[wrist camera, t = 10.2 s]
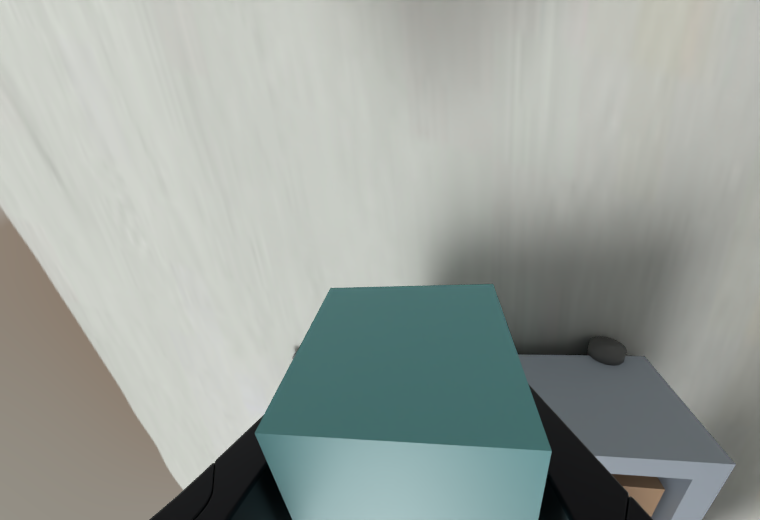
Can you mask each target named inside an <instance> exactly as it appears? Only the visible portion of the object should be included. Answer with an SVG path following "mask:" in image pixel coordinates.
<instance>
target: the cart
mask: <svg viewBox="0 0 760 520" xmlns="http://www.w3.org/2000/svg"><path fill="white" fill-rule="evenodd" d="M518 356H519V359H520V362H521V365H522V368H523V371H524V373H525V376H526V379H527V382H528V384H529V385H530V386H531V387H532V388H533V389H534V390H535V391H536V392H537V394H538V395H539V396H540V397H541V398H542V399H543V400H544V401H545V402H546V403H547V404H548V406H549V407H550V408H551V409H552V410H553V411H554V412H555V413H556V414H557V415H558V416H559V418H560V419H561V420H562V421H563V422H564V423H565V424H566V425H567V426H568V427H569V428H570V430H571V431H572V432H573V433H574V434H575V435H576V436H577V437H578V438H579V439H580V440H581V442H582V443H583V444H584V445H585V446H586V447H587V448H588V449H589V450H590V451H591V452H592V454H593V455H594V456H595V457H596V458H597V459H598V460H599V461H600V462H601V463H602V464H603V466H604V467H605V468H606V469H607V470H608V471H609V472H610V473H611V474H622V475H636V476H650V477H658V479H659V480H660V482H661V484H662V485H663V487H664V489H665V491H664V493H663V495H662V497H661V499H660V501H659V503H658V505H657V507H656V509H655V511H654V513H653V515H652V516H651V518H652V519H653V520H702V519H703V517H704V516H705V514H706V512H707V511H708V509H709V507H710V506H711V504H712V503H713V501H714V499H715V498H716V496H717V495H718V493H719V491H720V490H721V488H722V486H723V485H724V483H725V482H726V480H727V478H728V477H729V475H730V473H731V472H732V470H733V469H734V467H735V465H736V464H735V463H734V462H733V460H732V459H731V458H730V457H729V456H728V455H727V453H726V452H725V451H724V450H723V449H722V447H721V446H720V445H719V444H718V443H717V442H716V440H715V439H714V438H713V437H712V436H711V434H710V433H709V432H708V431H707V430H706V429H705V427H704V426H703V425H702V424H701V423H700V421H699V420H698V419H697V418H696V417H695V416H694V414H693V413H692V412H691V411H690V410H689V408H688V407H687V406H686V405H685V404H684V403H683V401H682V400H681V399H680V398H679V397H678V395H677V394H676V393H675V392H674V391H673V390H672V388H671V387H670V386H669V385H668V384H667V382H666V381H665V380H664V379H663V378H662V377H661V375H660V374H659V373H658V372H657V371H656V369H655V368H654V367H653V366H652V365H651V364H650V362H649V361H648V360H647V359H646V358H645V356H626V348H625V347H624V346H623V345H622V344H621V343H620V342H618V341H616V340H614V339H611V338H608V337H594V338H592V339H591V340H590V341H589V346H588V350H587V355H518Z"/></svg>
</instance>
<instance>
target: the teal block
mask: <svg viewBox="0 0 760 520" xmlns="http://www.w3.org/2000/svg"><path fill="white" fill-rule="evenodd" d="M255 436H256V438H257V440H258V442H259V445H260V447H261V449H262V452H263V454H264V456H265V458H266V461H267V463H268V465H269V468H270V470H271V472H272V474H273V477H274V479H275V481H276V484H277V486H278V488H279V491H280V493H281V495H282V497H283V500H284V502H285V504H286V507H287V509H288V511H289V513H290V516H291V518H292V520H538V518H539V513H540V508H541V503H542V498H543V493H544V488H545V483H546V478H547V473H548V468H549V463H550V458H551V453H552V450H551V447H550V444H549V442H548V439H547V436H546V433H545V430H544V427H543V425H542V422H541V419H540V416H539V413H538V410H537V407H536V405H535V402H534V399H533V396H532V393H531V390H530V388H529V385H528V382H527V379H526V376H525V373H524V371H523V368H522V365H521V362H520V359H519V356H518V353H517V351H516V348H515V345H514V342H513V339H512V336H511V334H510V331H509V328H508V325H507V322H506V319H505V317H504V314H503V311H502V308H501V305H500V302H499V300H498V297H497V294H496V291H495V288H494V285H493V284H472V285H433V286H394V287H355V288H330V290H329V292H328V294H327V296H326V298H325V300H324V302H323V303H322V305H321V307H320V309H319V311H318V313H317V315H316V317H315V319H314V321H313V322H312V324H311V326H310V328H309V330H308V332H307V334H306V336H305V338H304V340H303V342H302V343H301V345H300V347H299V349H298V351H297V353H296V355H295V357H294V359H293V361H292V363H291V364H290V366H289V368H288V370H287V372H286V374H285V376H284V378H283V380H282V382H281V384H280V385H279V387H278V389H277V391H276V393H275V395H274V397H273V399H272V401H271V403H270V405H269V406H268V408H267V410H266V412H265V414H264V416H263V418H262V420H261V422H260V424H259V426H258V427H257V429H256V431H255Z"/></svg>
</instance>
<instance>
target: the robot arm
mask: <svg viewBox="0 0 760 520" xmlns="http://www.w3.org/2000/svg"><path fill="white" fill-rule="evenodd" d="M528 385H529V384H528ZM529 388H530V390H531V393H532V396H533V399H534V402H535V405H536V407H537V410H538V413H539V416H540V419H541V422H542V425H543V427H544V430H545V433H546V436H547V439H548V442H549V444H550V447H551V450H552V453H551V458H550V463H549V468H548V473H547V478H546V483H545V488H544V493H543V498H542V503H541V508H540V513H539V518H538V520H653V519H652V518H651V517H650V516H649V514H648V513H647V512H646V511H645V510H644V509H643V508H642V507H641V506H640V505H639V504H638V502H637V501H636V500H635V499H634V498H633V497H631V496H630V497H629V493H628V492H627V491H626V490H625V488H624V487H623V486H622V485H621V484H620V483H619V482H618V481H617V480H616V479H615V478H614V476H613V475H612V474H611V473H610V472H609V471H608V470H607V469H606V468H605V467H604V466H603V464H602V463H601V462H600V461H599V460H598V459H597V458H596V457H595V456H594V455H593V454H592V452H591V451H590V450H589V449H588V448H587V447H586V446H585V445H584V444H583V443H582V442H581V440H580V439H579V438H578V437H577V436H576V435H575V434H574V433H573V432H572V431H571V430H570V428H569V427H568V426H567V425H566V424H565V423H564V422H563V421H562V420H561V419H560V418H559V416H558V415H557V414H556V413H555V412H554V411H553V410H552V409H551V408H550V407H549V406H548V404H547V403H546V402H545V401H544V400H543V399H542V398H541V397H540V396H539V395H538V394H537V392H536V391H535V390H534V389H533V388H532V387H531V386H530V385H529ZM263 416H264V415H263ZM263 416H262V417H261V418H260V419H259V420H258V421H257V422H256V423H255V424H254V425H253V426H252V427H250V428H249V429H248V430H247V431H246V432H245V433H244V434H243V435H242V436H241V437H240V438H239V439H238V440H237V441H236V442H235V443H234V444H233V445H231V446H230V447H229V448H228V449H227V450H226V451H225V452H224V453H223V454H222V455H221V456H220V457H219V458H218V459H217V460H216V461H215V463H212V464H211V465H210V466H209V467H208V468H207V469H206V470H205V471H204V472H203V473H202V474H201V475H200V476H199V477H197V478H196V479H195V480H194V481H193V482H192V483H191V484H190V485H189V486H188V487H186V488H185V489H184V490H183V491H182V492H181V493H180V494H179V495H178V496H177V497H175V499H173V500H172V501H171V502H170V503H168V504H167V505H166V506H165V507H164V508H163V509H162V510H160V511H159V512H158V513H157V514H155V515H154V516H153V517H152V518H151V519H150V520H292V518H291V516H290V513H289V511H288V509H287V507H286V504H285V502H284V500H283V497H282V495H281V493H280V491H279V488H278V486H277V484H276V481H275V479H274V477H273V474H272V472H271V470H270V468H269V465H268V463H267V461H266V458H265V456H264V454H263V452H262V449H261V447H260V445H259V442H258V440H257V438H256V436H255V431H256V429H257V427H258V426H259V424H260V422H261V420H262V418H263Z"/></svg>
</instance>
